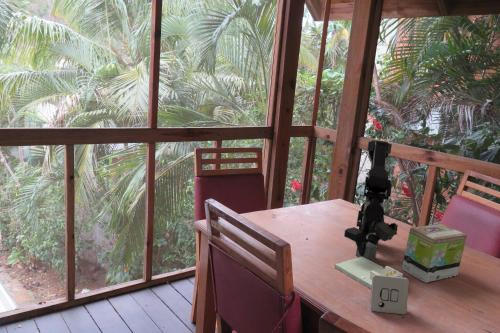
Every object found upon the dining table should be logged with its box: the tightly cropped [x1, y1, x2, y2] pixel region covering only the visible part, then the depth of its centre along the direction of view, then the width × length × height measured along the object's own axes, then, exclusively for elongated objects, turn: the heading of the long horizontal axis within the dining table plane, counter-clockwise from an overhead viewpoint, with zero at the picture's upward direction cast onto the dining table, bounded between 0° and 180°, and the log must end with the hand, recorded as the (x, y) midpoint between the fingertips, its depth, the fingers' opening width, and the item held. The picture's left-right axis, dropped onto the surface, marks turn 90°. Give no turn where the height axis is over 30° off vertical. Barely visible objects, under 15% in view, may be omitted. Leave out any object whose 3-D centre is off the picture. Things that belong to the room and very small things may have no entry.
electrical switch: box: [369, 275, 410, 315], centre depth 106 cm, size 9×5×9 cm, turn 86°
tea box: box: [401, 223, 468, 284], centre depth 128 cm, size 15×10×15 cm, turn 117°
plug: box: [355, 242, 378, 262], centre depth 136 cm, size 4×5×5 cm
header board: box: [334, 257, 404, 290], centre depth 124 cm, size 17×13×4 cm
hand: (365, 254), depth 136 cm, fingers closed on plug, 4 cm apart
